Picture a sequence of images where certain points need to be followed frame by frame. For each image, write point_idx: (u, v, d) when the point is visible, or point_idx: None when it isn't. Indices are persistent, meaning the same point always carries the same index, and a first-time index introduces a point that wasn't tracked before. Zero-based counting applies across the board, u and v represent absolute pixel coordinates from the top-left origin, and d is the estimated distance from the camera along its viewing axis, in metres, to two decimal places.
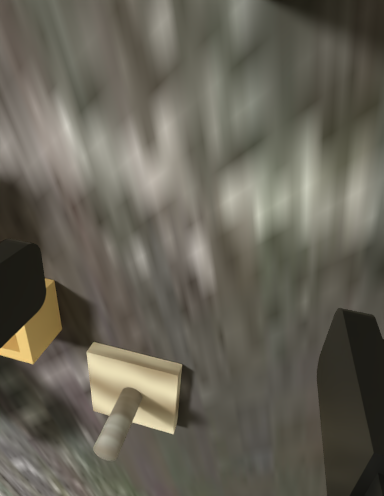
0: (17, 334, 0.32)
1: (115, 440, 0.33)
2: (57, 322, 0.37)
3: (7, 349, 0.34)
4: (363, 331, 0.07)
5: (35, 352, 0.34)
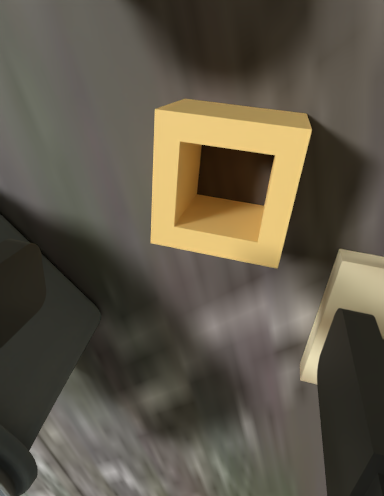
0: (272, 195, 0.15)
1: None
2: None
3: (228, 237, 0.17)
4: (363, 331, 0.07)
5: None
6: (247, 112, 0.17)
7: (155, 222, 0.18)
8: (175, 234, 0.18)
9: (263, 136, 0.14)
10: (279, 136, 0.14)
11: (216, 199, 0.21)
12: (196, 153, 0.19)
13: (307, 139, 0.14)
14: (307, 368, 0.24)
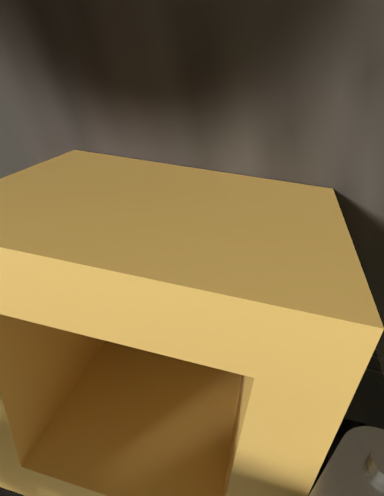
0: (249, 460, 0.05)
1: None
2: None
3: None
4: None
5: None
6: (188, 203, 0.06)
7: None
8: (28, 479, 0.07)
9: (212, 327, 0.04)
10: (265, 331, 0.04)
11: None
12: None
13: (365, 353, 0.04)
14: None
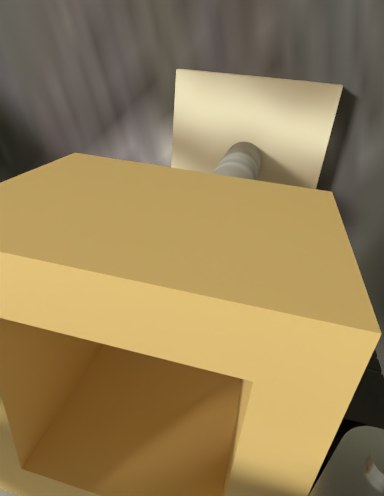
0: (248, 463, 0.05)
1: (248, 169, 0.18)
2: None
3: None
4: None
5: None
6: (187, 207, 0.07)
7: None
8: (28, 481, 0.07)
9: (211, 331, 0.04)
10: (264, 336, 0.04)
11: None
12: None
13: (362, 358, 0.04)
14: None
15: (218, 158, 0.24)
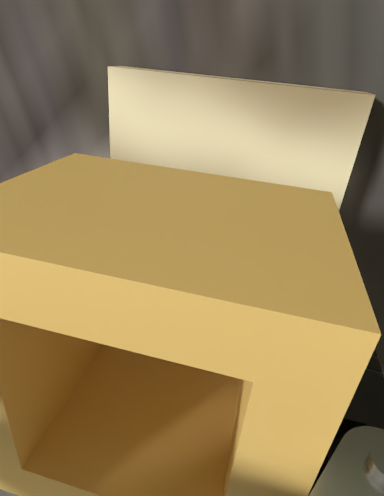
0: (248, 463, 0.05)
1: None
2: None
3: None
4: None
5: None
6: (187, 207, 0.07)
7: None
8: (28, 481, 0.07)
9: (211, 332, 0.04)
10: (264, 336, 0.04)
11: None
12: None
13: (362, 358, 0.04)
14: None
15: None
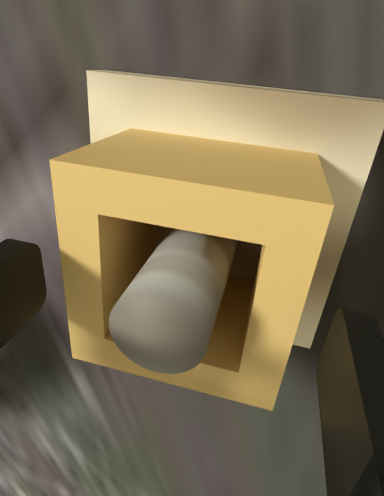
0: (261, 307, 0.09)
1: (199, 289, 0.08)
2: None
3: None
4: (363, 331, 0.07)
5: None
6: (220, 157, 0.10)
7: (75, 330, 0.11)
8: (107, 349, 0.11)
9: (242, 213, 0.08)
10: (272, 213, 0.08)
11: None
12: None
13: (325, 221, 0.07)
14: None
15: None
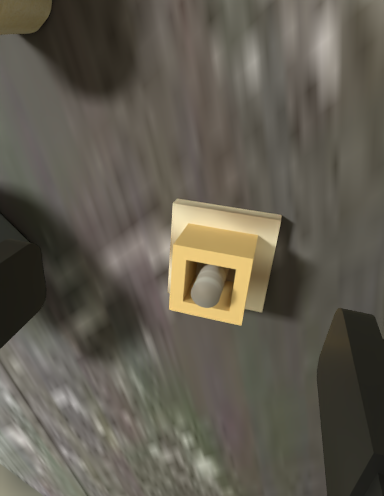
0: (235, 288, 0.29)
1: (217, 282, 0.28)
2: None
3: (213, 308, 0.30)
4: (363, 331, 0.07)
5: (243, 312, 0.30)
6: (223, 239, 0.30)
7: (172, 298, 0.31)
8: (183, 305, 0.31)
9: (229, 260, 0.28)
10: (237, 260, 0.28)
11: None
12: None
13: (251, 263, 0.27)
14: (170, 282, 0.36)
15: None
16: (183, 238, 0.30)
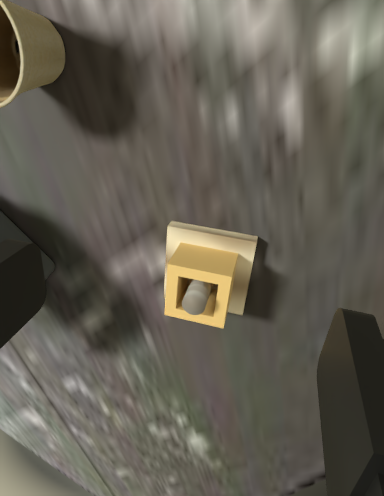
0: (218, 299, 0.35)
1: (203, 294, 0.35)
2: None
3: (200, 314, 0.37)
4: (363, 331, 0.07)
5: (225, 317, 0.37)
6: (208, 258, 0.37)
7: (167, 306, 0.38)
8: (176, 311, 0.38)
9: (212, 277, 0.34)
10: (219, 277, 0.34)
11: None
12: None
13: (230, 280, 0.34)
14: (165, 289, 0.43)
15: None
16: (176, 257, 0.36)
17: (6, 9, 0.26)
